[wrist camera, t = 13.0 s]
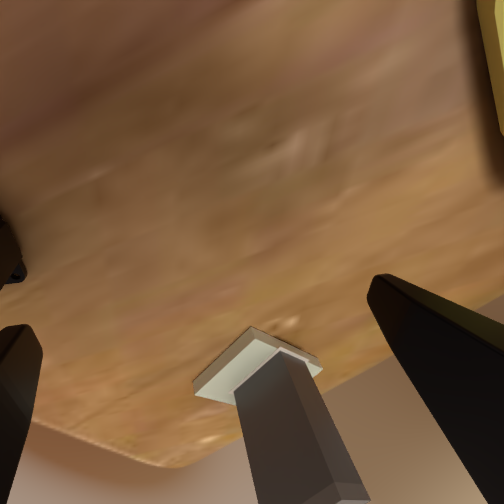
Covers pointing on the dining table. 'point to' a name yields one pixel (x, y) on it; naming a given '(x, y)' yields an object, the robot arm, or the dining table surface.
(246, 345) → the board
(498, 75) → the plastic component
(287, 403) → the block
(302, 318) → the dining table surface
